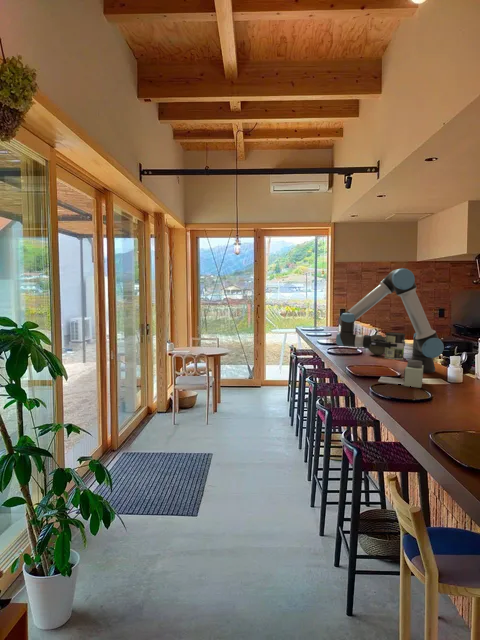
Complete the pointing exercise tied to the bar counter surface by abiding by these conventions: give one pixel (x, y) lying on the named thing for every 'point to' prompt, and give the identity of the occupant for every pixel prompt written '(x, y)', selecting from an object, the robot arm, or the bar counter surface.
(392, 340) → the coffee can
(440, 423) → the bar counter surface
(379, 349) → the cantaloupe
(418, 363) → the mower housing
